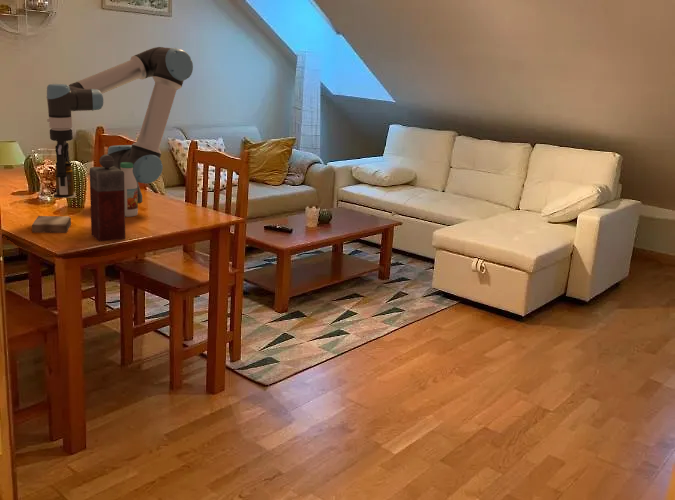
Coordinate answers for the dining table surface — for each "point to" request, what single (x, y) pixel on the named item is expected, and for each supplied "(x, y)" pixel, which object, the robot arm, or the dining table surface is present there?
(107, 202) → the square decanter
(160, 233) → the dining table surface
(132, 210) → the milk bottle
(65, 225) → the stand
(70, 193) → the condiment
